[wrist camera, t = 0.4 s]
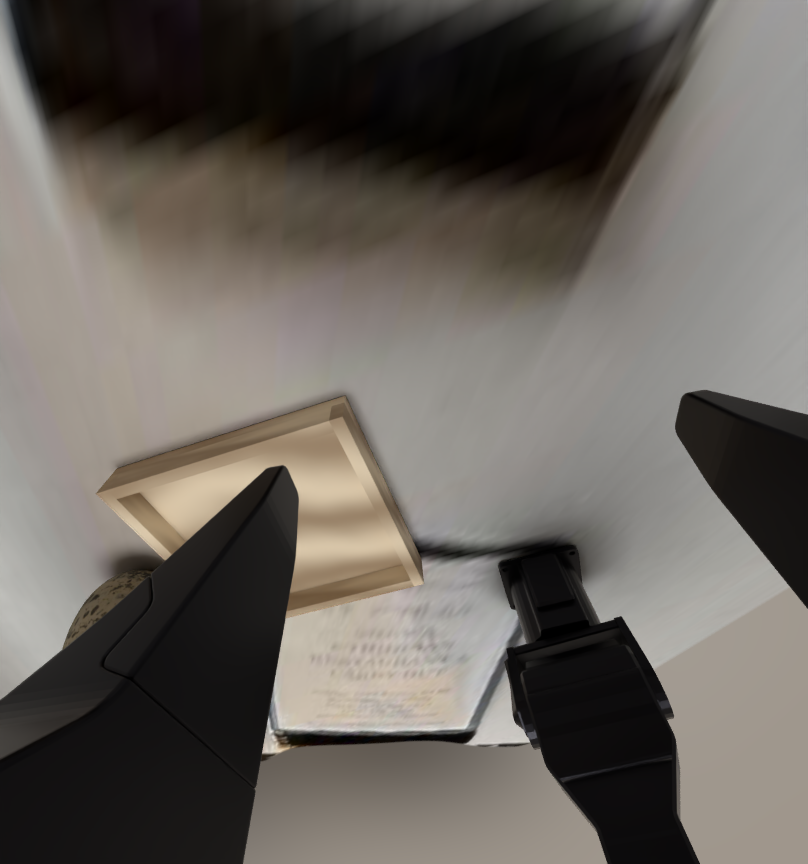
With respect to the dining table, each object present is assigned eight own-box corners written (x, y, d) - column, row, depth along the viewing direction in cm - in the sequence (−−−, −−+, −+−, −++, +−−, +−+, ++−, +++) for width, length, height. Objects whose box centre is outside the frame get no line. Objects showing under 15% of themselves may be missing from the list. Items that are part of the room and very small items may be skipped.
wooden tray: (421, 558, 33) (423, 583, 31) (244, 603, 35) (236, 630, 33) (345, 395, 25) (342, 416, 23) (116, 468, 27) (95, 493, 25)
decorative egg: (105, 589, 33) (14, 732, 25) (113, 543, 30) (14, 687, 22) (181, 605, 35) (121, 744, 27) (196, 563, 32) (133, 704, 24)
